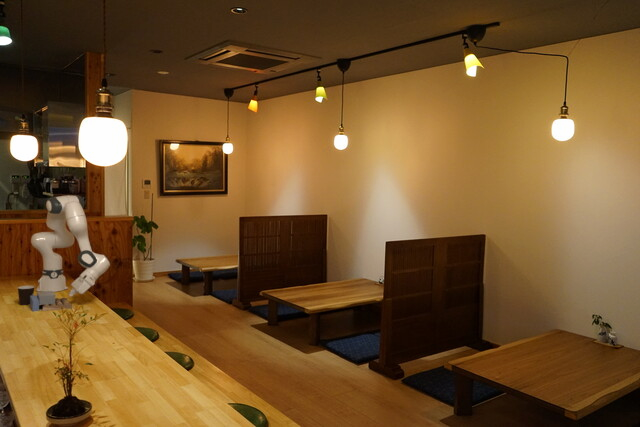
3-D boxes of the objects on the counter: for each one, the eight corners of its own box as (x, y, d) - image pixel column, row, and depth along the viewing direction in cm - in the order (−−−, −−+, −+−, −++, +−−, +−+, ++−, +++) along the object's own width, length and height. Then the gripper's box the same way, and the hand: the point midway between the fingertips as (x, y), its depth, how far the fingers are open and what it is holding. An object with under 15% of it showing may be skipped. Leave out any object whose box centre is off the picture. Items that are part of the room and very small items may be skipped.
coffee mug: (28, 306, 292) (28, 289, 291) (14, 305, 292) (14, 288, 291) (40, 301, 303) (40, 285, 303) (26, 300, 303) (26, 284, 303)
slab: (36, 300, 293) (36, 292, 293) (52, 299, 298) (52, 290, 298) (39, 305, 284) (39, 296, 283) (55, 303, 288) (55, 295, 288)
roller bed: (38, 304, 297) (38, 299, 296) (66, 301, 305) (66, 296, 305) (42, 311, 282) (42, 305, 282) (72, 308, 291) (72, 303, 291)
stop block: (29, 305, 292) (30, 295, 292) (35, 305, 294) (35, 295, 294) (32, 311, 281) (32, 300, 281) (38, 310, 283) (39, 300, 282)
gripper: (80, 271, 310) (62, 288, 305) (87, 277, 294) (68, 295, 289) (88, 278, 313) (70, 295, 308) (95, 284, 296) (76, 302, 291)
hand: (69, 295), depth 298 cm, fingers closed
